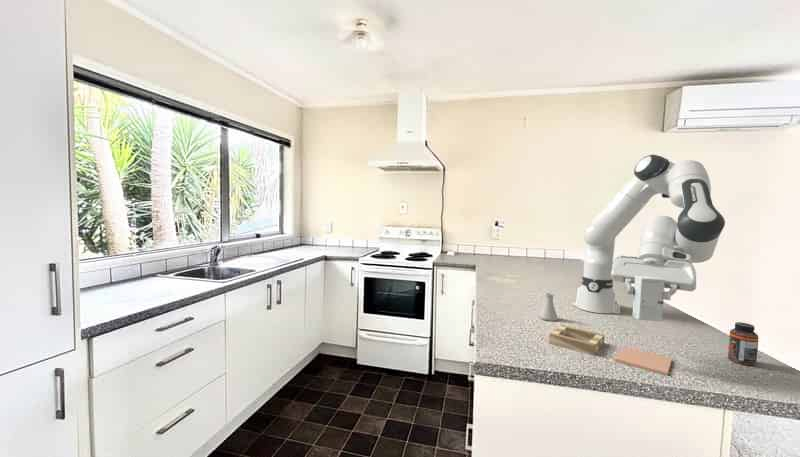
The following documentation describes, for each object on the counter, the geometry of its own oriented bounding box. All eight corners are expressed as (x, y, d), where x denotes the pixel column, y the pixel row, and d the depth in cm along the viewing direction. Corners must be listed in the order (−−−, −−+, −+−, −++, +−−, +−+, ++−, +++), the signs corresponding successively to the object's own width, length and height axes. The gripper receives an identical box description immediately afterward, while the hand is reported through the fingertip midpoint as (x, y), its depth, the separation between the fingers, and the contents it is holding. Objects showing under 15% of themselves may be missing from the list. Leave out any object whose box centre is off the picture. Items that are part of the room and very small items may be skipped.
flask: (554, 316, 140) (555, 292, 139) (561, 322, 132) (562, 296, 132) (536, 315, 140) (537, 291, 140) (541, 321, 133) (543, 296, 133)
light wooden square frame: (562, 333, 120) (562, 324, 120) (603, 343, 111) (604, 334, 111) (548, 343, 111) (549, 334, 110) (593, 355, 102) (594, 345, 102)
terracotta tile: (623, 348, 107) (623, 346, 107) (671, 360, 99) (672, 358, 99) (614, 361, 98) (614, 358, 98) (667, 375, 90) (667, 372, 90)
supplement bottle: (723, 356, 104) (726, 319, 103) (748, 359, 101) (751, 322, 101) (734, 364, 98) (737, 325, 97) (761, 368, 96) (764, 328, 95)
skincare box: (639, 320, 96) (641, 278, 96) (631, 315, 101) (633, 275, 100) (663, 322, 95) (666, 279, 94) (654, 317, 99) (657, 276, 99)
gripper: (613, 249, 109) (605, 283, 102) (698, 255, 95) (694, 296, 89) (616, 261, 113) (607, 295, 106) (697, 269, 99) (694, 309, 92)
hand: (648, 296), depth 97 cm, fingers closed on skincare box, 7 cm apart
